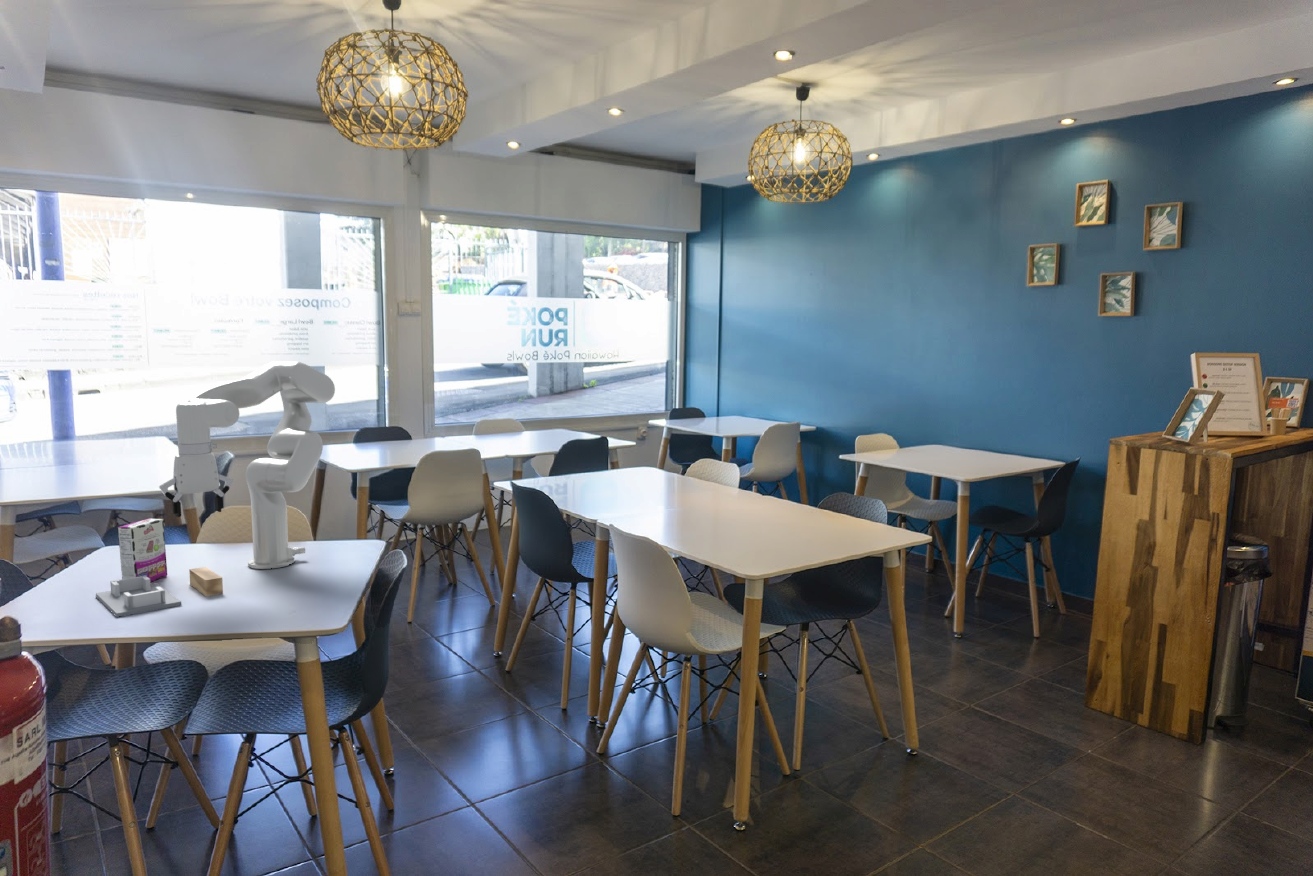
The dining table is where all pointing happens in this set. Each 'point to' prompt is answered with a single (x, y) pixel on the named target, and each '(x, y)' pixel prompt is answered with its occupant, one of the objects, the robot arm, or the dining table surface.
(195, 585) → the oak block
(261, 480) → the robot arm
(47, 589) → the dining table surface
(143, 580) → the board
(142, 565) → the candy bar box
